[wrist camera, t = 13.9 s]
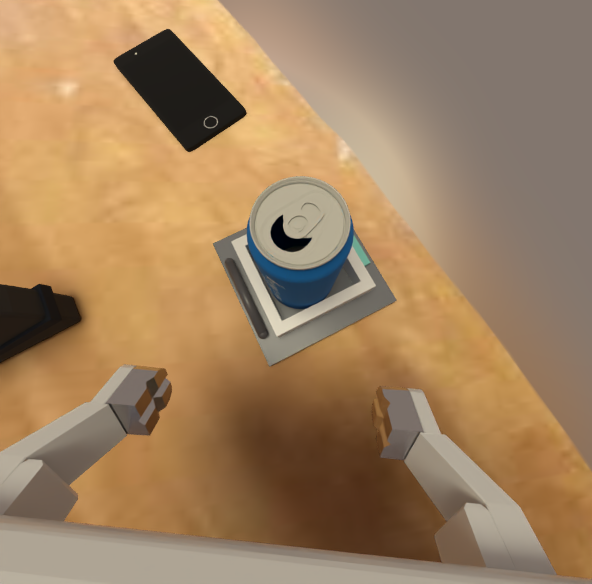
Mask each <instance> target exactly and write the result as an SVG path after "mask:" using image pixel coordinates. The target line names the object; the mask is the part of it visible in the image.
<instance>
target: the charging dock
mask: <svg viewBox="0 0 592 584" xmlns="http://www.w3.org/2000/svg"><path fill="white" fill-rule="evenodd" d="M213 245H214V247H215V250H216V252H217V254H218V256H219V258H220V260H221V263H222V265H223V267H224V269H225V271H226V273H227V276H228V278H229V280H230V282H231V284H232V286H233V289H234V291H235V293H236V295H237V297H238V299H239V302H240V304H241V306H242V308H243V310H244V312H245V315H246V317H247V319H248V321H249V323H250V325H251V328H252V330H253V332H254V334H255V336H256V338H257V341H258V343H259V345H260V347H261V349H262V351H263V354H264V356H265V358H266V360H267V362H268V364H269V366H271V365H273V364H275V363H277V362H279V361H281V360H283V359H285V358H287V357H289V356H291V355H292V354H294V353H296V352H298V351H300V350H302V349H304V348H306V347H308V346H310V345H312V344H314V343H316V342H318V341H319V340H321V339H323V338H325V337H327V336H329V335H331V334H333V333H335V332H337V331H339V330H341V329H343V328H345V327H346V326H348V325H350V324H352V323H354V322H356V321H358V320H360V319H362V318H364V317H366V316H368V315H370V314H372V313H373V312H375V311H377V310H379V309H381V308H383V307H385V306H387V305H389V304H391V303H393V302H395V301H397V300H396V298H395V297H394V295H393V293H392V292H391V290H390V289H389V287H388V285H387V284H386V282H385V280H384V279H383V277H382V275H381V274H380V272H379V270H378V269H377V267H376V265H375V264H374V262H373V260H372V259H371V257H370V256H369V254H368V252H367V251H366V249H365V247H364V246H363V244H362V242H361V241H360V239H359V237H358V236H357V234H356V232H355V231H354V237H353V244H352V248H351V250H350V253H349V255H348V257H347V259H346V261H345V263H344V265H343V267H342V269H341V271H340V273H339V275H338V277H337V279H336V280H335V282H334V284H333V286H332V288H331V290H330V292H329V294H328V295H327V297H326V298H325V299H324V300H323V301H321V302H319V303H317V304H315V305H313V306H311V307H309V308H306V309H295V308H291V307H288V306H286V305H284V304H282V303H281V302H279V301H278V300H277V299H276V298H275V297H274V295H273V294H272V292H271V290H270V288H269V286H268V285H267V283H266V281H265V279H264V277H263V275H262V273H261V271H260V270H259V268H258V266H257V264H256V262H255V260H254V258H253V257H252V255H251V252H250V250H249V247H248V243H247V228H245V229H243V230H241V231H239V232H237V233H235V234H232V235H230V236H228V237H226V238H224V239H222V240H219V241H217V242H215V243H213Z"/></svg>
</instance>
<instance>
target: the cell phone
mask: <svg viewBox="0 0 592 584" xmlns="http://www.w3.org/2000/svg"><path fill="white" fill-rule="evenodd" d="M114 64H115V65H116V67H117V68H118V69H119V71H120V72H121V73H122V74H123V75H124V77H125V78H126V79H127V80H128V81H129V83H130V84H131V85H132V86H133V87H134V89H135V90H136V91H137V92H138V93H139V95H140V96H141V97H142V98H143V99H144V100H145V102H146V103H147V104H148V105H149V106H150V108H151V109H152V110H153V111H154V112H155V114H156V115H157V116H158V117H159V118H160V120H161V121H162V122H163V123H164V124H165V126H166V127H167V128H168V129H169V130H170V132H171V133H172V134H173V135H174V136H175V138H176V139H177V140H178V141H179V142H180V144H181V145H182V146H183V147H184V148H185V150H186V151H188V152H191V151H193V150H195V149H197V148H198V147H200V146H201V145H203V144H204V143H206V142H207V141H209V140H210V139H212V138H213V137H215V136H216V135H218V134H219V133H221V132H222V131H224V130H225V129H227V128H228V127H230V126H231V125H233V124H234V123H236V122H237V121H239V120H240V119H242V118H243V117H244V116H245V115H246V110H245V108H244V107H243V106H242V105H241V104H240V103H239V102H238V101H237V100H236V99H235V97H234V96H233V95H232V94H231V93H230V92H229V91H228V90H227V89H226V88H225V87H224V86H223V85H222V84H221V83H220V82H219V81H218V79H217V78H216V77H215V76H214V75H213V74H212V73H211V72H210V71H209V70H208V69H207V68H206V67H205V66H204V65H203V64H202V63H201V61H200V60H199V59H198V58H197V57H196V56H195V55H194V54H193V53H192V52H191V51H190V50H189V49H188V48H187V47H186V46H185V45H184V43H183V42H182V41H181V40H180V39H179V38H178V37H177V36H176V35H175V34H174V33H173V32H172V31H171V30H170V29H166V30H164V31H162V32H160V33H158V34H157V35H155V36H153V37H151V38H150V39H148V40H146V41H144V42H143V43H141V44H139V45H138V46H136V47H134V48H132V49H131V50H129V51H127V52H125V53H124V54H122V55H120V56H119V57H117V58H116V59H115V60H114Z"/></svg>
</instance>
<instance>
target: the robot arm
mask: <svg viewBox="0 0 592 584" xmlns="http://www.w3.org/2000/svg"><path fill="white" fill-rule="evenodd" d="M166 376H167V372H166V369H164V368H155V367H146V366H137V365H126V364H124V365H123V366H121V367H120V368H119V369H118V370H117V371H116V372H115V373H114V375H113V376H112V377H111V378H110V379H109V380H108V382H107V383H106V384H105V385H104V386H103V388H102V389H101V390H100V391H99V392H98V393H97V395H96V396H95V397H94V398H93V399H92V401H91V402H85V403H84V404H82V405H80V406H78V407H77V408H75V409H73V410H72V411H70V412H68V413H67V414H65V415H63V416H61V417H60V418H58V419H56V420H55V421H53V422H51V423H49V424H48V425H46V426H44V427H43V428H41V429H39V430H37V431H36V432H34V433H32V434H31V435H29V436H27V437H25V438H24V439H22V440H20V441H19V442H17V443H15V444H13V445H12V446H10V447H8V448H7V449H5V450H3V451H1V452H0V584H592V579H588V578H579V577H570V576H561V575H557V574H556V572H555V570H554V569H553V567H552V565H551V563H550V561H549V559H548V558H547V556H546V554H545V552H544V550H543V548H542V546H541V545H540V543H539V541H538V539H537V537H536V535H535V534H534V532H533V530H532V528H531V526H530V524H529V522H528V521H527V519H526V517H525V515H524V513H523V511H522V510H521V508H520V506H519V505H518V504H517V503H515V502H514V501H513V500H512V499H511V498H510V497H509V496H508V495H507V494H506V493H505V492H504V491H503V490H502V489H501V488H500V487H499V486H498V485H497V484H496V483H495V482H494V481H493V480H492V479H491V478H490V477H489V476H488V475H487V474H486V473H485V472H484V471H483V470H481V469H480V468H479V467H478V466H477V465H476V464H475V463H474V462H473V461H472V460H471V459H470V458H469V457H468V456H467V455H466V454H465V453H464V452H463V451H462V450H461V449H460V448H459V447H458V446H457V445H456V444H455V443H454V442H453V441H452V440H451V439H450V438H449V437H448V436H446V435H444V434H441V432H440V430H439V428H438V425H437V423H436V421H435V418H434V416H433V413H432V411H431V409H430V406H429V404H428V401H427V399H426V397H425V394H424V392H423V391H422V390H421V389H409V388H401V387H386V386H379V387H378V388H377V391H376V394H377V398H375V399H374V400H373V404H372V420H373V425H374V427H375V428H376V429H377V430H378V433H377V436H376V441H377V446H378V451H379V456H380V457H382V458H390V459H398V460H404V462H405V464H406V465H407V467H408V468H409V469H410V471H411V472H412V474H413V475H414V476H415V478H416V479H417V481H418V482H419V484H420V485H421V486H422V488H423V489H424V491H425V492H426V493H427V495H428V496H429V498H430V499H431V500H432V502H433V503H434V505H435V506H436V507H437V509H438V510H439V512H440V513H441V514H442V516H443V517H444V519H445V520H446V521H447V522H446V523H445V524H444V525H443V526H442V527H441V528H440V529H439V530H438V531H437V532H436V534H435V535H434V537H435V541H436V544H437V548H438V551H439V555H440V558H441V562H442V563H441V562H432V561H423V560H414V559H405V558H395V557H386V556H377V555H368V554H359V553H350V552H340V551H331V550H322V549H313V548H304V547H294V546H285V545H276V544H267V543H258V542H249V541H239V540H230V539H221V538H212V537H203V536H194V535H184V534H175V533H166V532H157V531H148V530H138V529H129V528H120V527H111V526H102V525H93V524H83V523H74V522H65V521H64V520H65V518H66V517H67V515H68V514H69V512H70V510H71V509H72V507H73V506H74V504H75V503H76V501H77V500H78V494H77V493H76V492H75V491H74V490H73V489H72V488H71V487H70V486H69V485H70V484H71V483H72V482H73V481H75V480H76V479H77V478H78V477H79V476H80V475H82V474H83V473H84V472H85V471H86V470H87V469H89V468H90V467H91V466H92V465H93V464H94V463H96V462H97V461H98V460H99V459H100V458H101V457H103V456H104V455H105V454H106V453H107V452H108V451H110V450H111V449H112V448H113V447H114V446H115V445H117V444H118V443H119V442H120V441H121V440H122V439H124V438H125V437H126V436H127V434H134V435H151V433H152V431H153V429H154V427H155V426H156V424H157V422H158V420H159V418H160V416H159V411H161V410H162V409H164V408H165V407H166V406H167V404H168V402H169V400H170V397H171V393H172V386H171V383H170V381H168V380H167V379H166Z"/></svg>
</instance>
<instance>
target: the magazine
mask: <svg viewBox="0 0 592 584" xmlns="http://www.w3.org/2000/svg"><path fill="white" fill-rule="evenodd" d="M79 321H80V316H79V314H78V311H77V308H76V305H75V303H74V300H73V298H72V297H71V296H66V295H61V294H56V293H53V291H52V288H51V286H47V285H42V284H38V285H36V286H35V287H33V288H32V289H28V288H21V287H15V286H9V285H1V284H0V362H2V361H4V360H6V359H8V358H9V357H11V356H13V355H15V354H17V353H19V352H21V351H23V350H25V349H27V348H29V347H31V346H33V345H35V344H37V343H39V342H40V341H42V340H44V339H46V338H48V337H50V336H52V335H54V334H56V333H58V332H60V331H62V330H64V329H66V328H68V327H69V326H71V325H73V324H75V323H77V322H79Z"/></svg>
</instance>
